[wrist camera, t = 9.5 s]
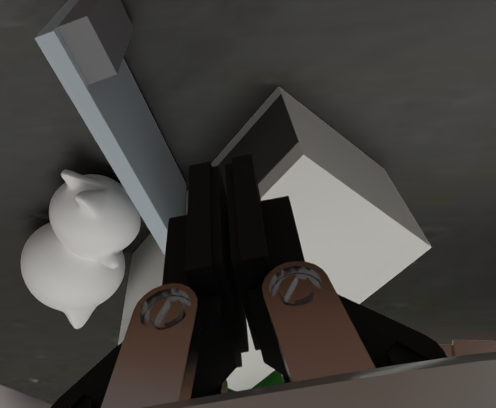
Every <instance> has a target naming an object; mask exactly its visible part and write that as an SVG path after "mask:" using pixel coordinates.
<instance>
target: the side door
mask: <svg viewBox="0 0 496 408" xmlns="http://www.w3.org/2000/svg"><path fill="white" fill-rule="evenodd" d="M133 30H134V28H133V26H132V23H131V21H130V19H129V17H128V15H127V13H126V11H125V8H124V6H123V4H122V2H121V0H68V1H67V2H66V3H65V5H64V6H63V7H62V8H61V9H60V10H59V11H58V12H57V14H56V15H55V16H54V17H53V18H52V19H51V20H50V21H49V22H48V24H47V25H46V26H45V27H44V28H43V29H42V30H41V31H40V33H39V34H38V35H37V36H36V37H35V40H36V42H37V43H38V45H39V47H40V48H41V50H42V52H43V53H44V55H45V57H46V58H47V60H48V62H49V63H50V65H51V67H52V68H53V70H54V72H55V73H56V75H57V77H58V78H59V80H60V82H61V83H62V85H63V87H64V88H65V90H66V92H67V93H68V95H69V97H70V98H71V100H72V102H73V103H74V105H75V107H76V108H77V110H78V112H79V113H80V115H81V117H82V118H83V120H84V122H85V123H86V125H87V127H88V128H89V130H90V132H91V133H92V135H93V137H94V139H95V140H96V142H97V144H98V145H99V147H100V149H101V150H102V152H103V154H104V155H105V157H106V159H107V160H108V162H109V164H110V165H111V167H112V169H113V170H114V172H115V174H116V175H117V177H118V179H119V180H120V182H121V184H122V185H123V187H124V189H125V190H126V192H127V194H128V195H129V197H130V199H131V200H132V202H133V204H134V205H135V207H136V209H137V210H138V212H139V214H140V215H141V217H142V219H143V220H144V222H145V224H146V225H147V227H148V229H149V230H150V232H151V234H152V235H153V237H154V239H155V240H156V242H157V244H158V245H159V247H160V249H161V250H162V252H163V254H164V255H165V251H166V241H167V230H168V222H169V219H170V218H172V217H178V216H183V215H186V194H187V184H186V182H185V180H184V178H183V176H182V174H181V172H180V170H179V168H178V166H177V164H176V162H175V160H174V158H173V156H172V154H171V152H170V150H169V148H168V146H167V144H166V142H165V140H164V138H163V136H162V134H161V132H160V130H159V128H158V126H157V124H156V122H155V120H154V118H153V116H152V114H151V112H150V110H149V108H148V106H147V104H146V102H145V100H144V98H143V96H142V94H141V92H140V90H139V88H138V86H137V84H136V82H135V80H134V78H133V76H132V74H131V72H130V70H129V68H128V66H127V64H126V62H125V60H124V58H123V57H124V54H125V52H126V49H127V46H128V43H129V41H130V38H131V35H132V32H133Z"/></svg>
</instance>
